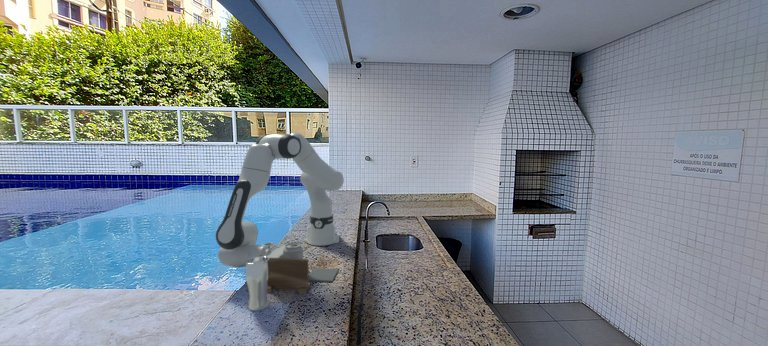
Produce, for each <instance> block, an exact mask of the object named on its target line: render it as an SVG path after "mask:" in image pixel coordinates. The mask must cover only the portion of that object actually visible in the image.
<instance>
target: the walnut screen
mask: <svg viewBox="0 0 768 346" xmlns="http://www.w3.org/2000/svg"><path fill="white" fill-rule="evenodd" d="M269 265H270V278H269V284H268V290H267V294H268V293H269V294H270V293H272V292H273V291H289V292H290V291H293V292H298V294H299V295H306V293H307V292H308V290H309V289H310V287H311V283H310V282H309V281H308V276H309V259H307V258H303V259H289V258H269Z"/></svg>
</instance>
